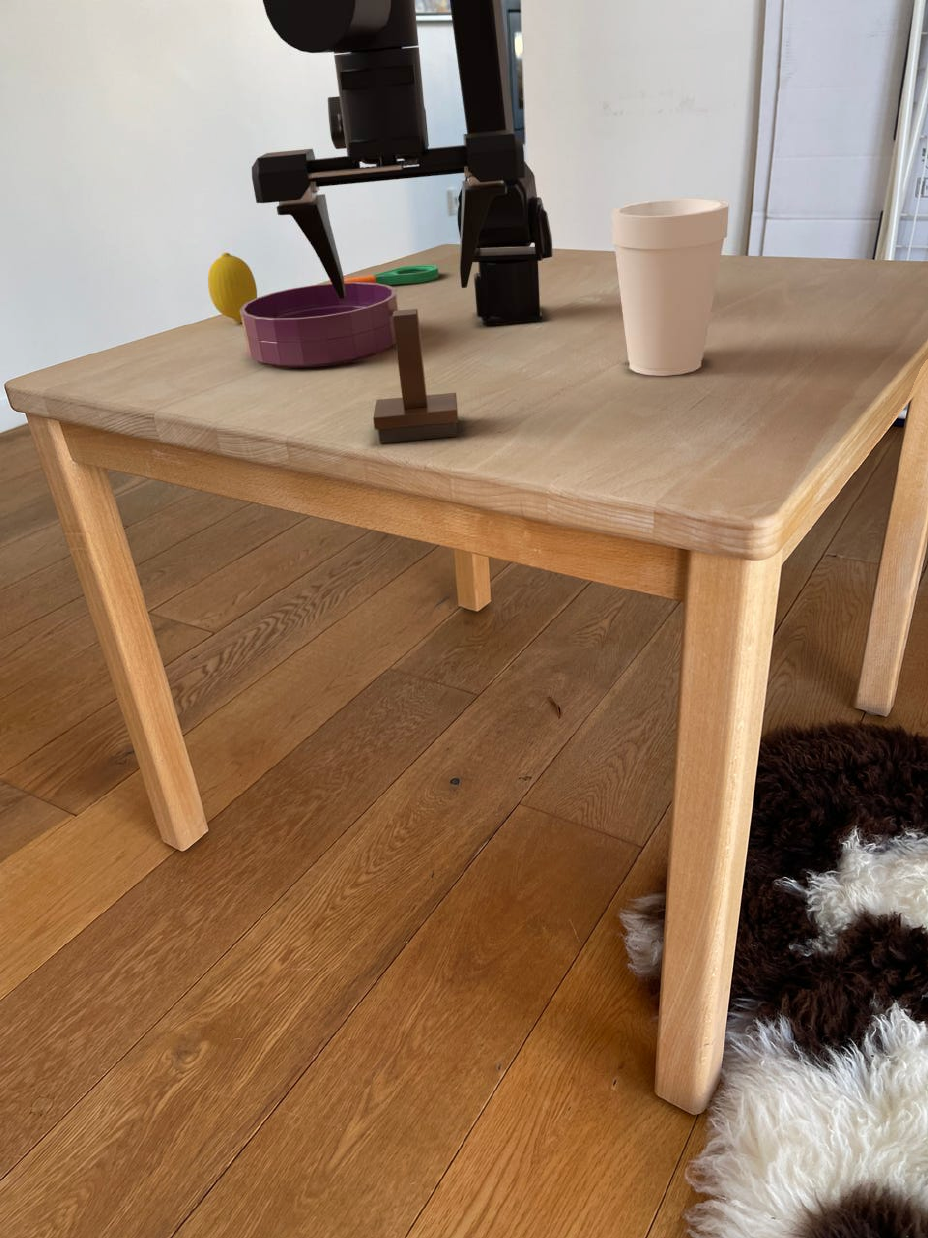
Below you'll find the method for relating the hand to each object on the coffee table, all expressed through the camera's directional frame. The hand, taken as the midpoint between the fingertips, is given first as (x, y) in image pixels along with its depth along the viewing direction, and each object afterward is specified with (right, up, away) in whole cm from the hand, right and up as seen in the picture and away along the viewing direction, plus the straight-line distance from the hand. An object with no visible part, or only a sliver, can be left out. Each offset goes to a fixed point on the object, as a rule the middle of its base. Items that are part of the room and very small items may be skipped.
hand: (403, 292), depth 70 cm
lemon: (-22, +11, +42) cm, 48 cm away
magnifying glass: (-6, +20, +54) cm, 58 cm away
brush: (+1, -10, +3) cm, 10 cm away
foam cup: (+23, -2, +13) cm, 26 cm away
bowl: (-10, +4, +28) cm, 30 cm away
